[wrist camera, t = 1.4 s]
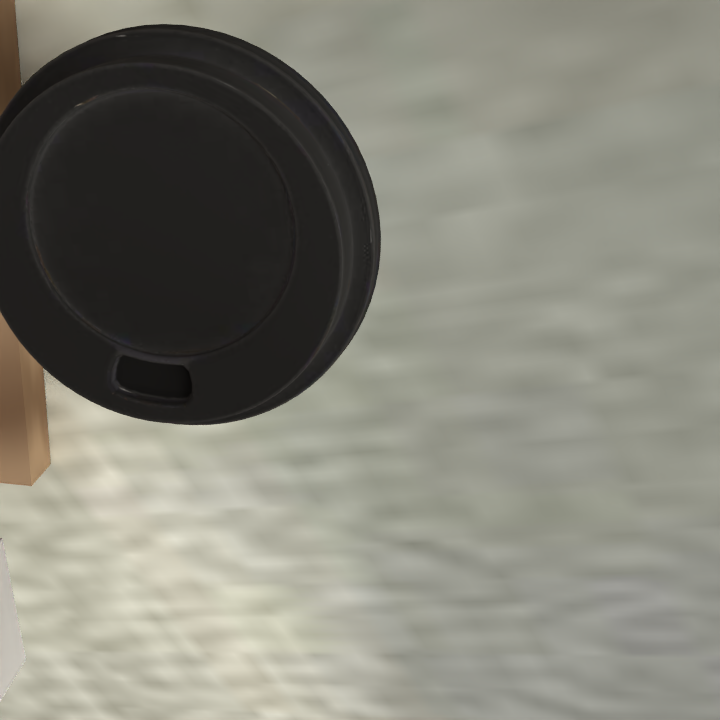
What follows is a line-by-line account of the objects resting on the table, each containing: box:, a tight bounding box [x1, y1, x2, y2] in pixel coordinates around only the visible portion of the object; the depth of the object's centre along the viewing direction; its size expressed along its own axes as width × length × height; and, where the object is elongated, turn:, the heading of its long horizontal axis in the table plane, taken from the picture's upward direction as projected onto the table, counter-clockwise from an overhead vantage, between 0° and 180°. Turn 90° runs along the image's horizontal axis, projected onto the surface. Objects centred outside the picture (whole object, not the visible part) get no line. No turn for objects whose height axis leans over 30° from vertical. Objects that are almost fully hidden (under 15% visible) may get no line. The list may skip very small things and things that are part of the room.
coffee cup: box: [0, 24, 381, 425], centre depth 22 cm, size 9×9×15 cm
